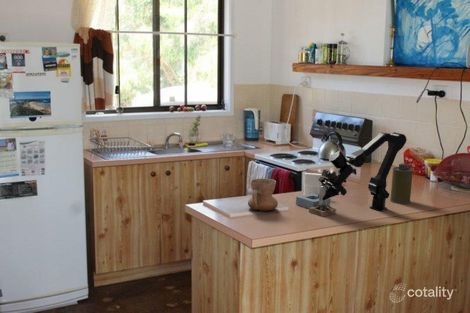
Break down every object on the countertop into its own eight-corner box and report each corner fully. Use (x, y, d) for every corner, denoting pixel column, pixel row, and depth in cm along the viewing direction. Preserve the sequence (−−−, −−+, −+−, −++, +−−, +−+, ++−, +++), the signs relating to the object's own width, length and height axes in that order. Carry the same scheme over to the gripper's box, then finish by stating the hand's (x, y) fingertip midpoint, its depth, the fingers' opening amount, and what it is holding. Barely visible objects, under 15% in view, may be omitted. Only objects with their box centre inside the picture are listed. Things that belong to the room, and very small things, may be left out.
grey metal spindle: (322, 211, 290) (323, 185, 288) (328, 213, 287) (329, 186, 285) (316, 212, 288) (317, 186, 285) (322, 214, 285) (324, 187, 282)
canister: (404, 205, 307) (407, 166, 303) (386, 201, 314) (389, 163, 310) (414, 201, 315) (417, 164, 311) (396, 197, 322) (399, 161, 318)
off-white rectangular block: (321, 194, 323) (322, 172, 321) (319, 198, 314) (321, 176, 312) (304, 193, 325) (305, 171, 323) (302, 197, 316) (304, 174, 314)
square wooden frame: (321, 209, 294) (322, 205, 293) (335, 213, 287) (335, 209, 286) (308, 211, 288) (309, 207, 288) (322, 216, 281) (322, 212, 281)
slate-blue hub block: (312, 201, 309) (313, 193, 308) (329, 206, 300) (330, 198, 299) (295, 204, 301) (296, 196, 301) (313, 209, 292) (313, 201, 291)
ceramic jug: (259, 203, 301) (259, 175, 298) (284, 207, 293) (285, 179, 291) (239, 211, 287) (239, 182, 284) (265, 216, 279) (266, 186, 276)
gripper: (322, 160, 293) (301, 183, 291) (342, 167, 276) (320, 192, 274) (335, 175, 297) (314, 197, 295) (356, 183, 280) (334, 207, 278)
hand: (320, 198), depth 286 cm, fingers closed on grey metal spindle, 4 cm apart
